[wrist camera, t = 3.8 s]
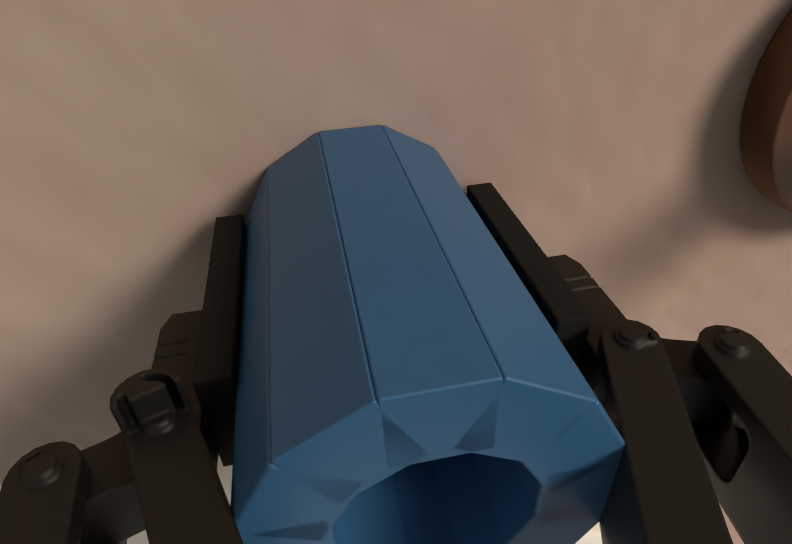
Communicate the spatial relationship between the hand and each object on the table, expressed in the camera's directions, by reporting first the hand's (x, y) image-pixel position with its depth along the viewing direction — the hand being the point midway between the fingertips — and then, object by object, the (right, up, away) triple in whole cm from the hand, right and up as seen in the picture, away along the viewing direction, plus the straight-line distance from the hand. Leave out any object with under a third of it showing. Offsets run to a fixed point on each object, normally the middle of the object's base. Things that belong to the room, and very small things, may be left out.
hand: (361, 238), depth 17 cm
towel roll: (0, 0, 0) cm, 1 cm away
